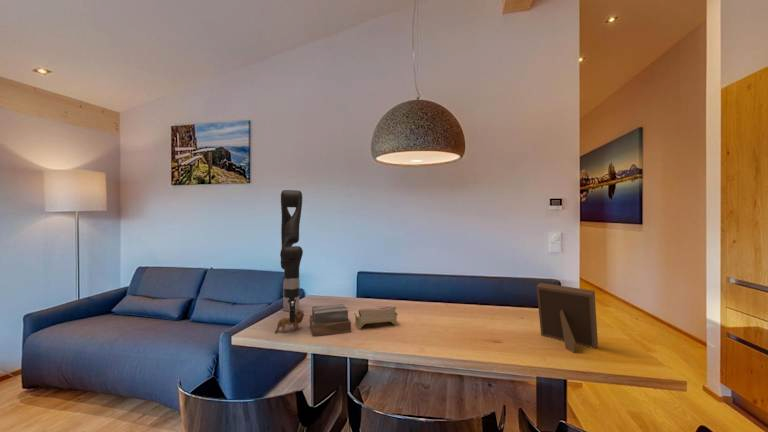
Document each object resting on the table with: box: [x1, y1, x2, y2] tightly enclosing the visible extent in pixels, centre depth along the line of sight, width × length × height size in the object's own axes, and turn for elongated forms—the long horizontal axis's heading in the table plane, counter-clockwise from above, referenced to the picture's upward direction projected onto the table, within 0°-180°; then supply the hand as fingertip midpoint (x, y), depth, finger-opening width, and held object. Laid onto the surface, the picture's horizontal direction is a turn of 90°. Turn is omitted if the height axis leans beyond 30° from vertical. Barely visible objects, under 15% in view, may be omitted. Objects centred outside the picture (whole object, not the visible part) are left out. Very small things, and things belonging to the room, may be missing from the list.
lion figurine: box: [274, 309, 305, 334], centre depth 158 cm, size 15×5×9 cm, turn 130°
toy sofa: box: [354, 305, 399, 330], centre depth 166 cm, size 21×9×10 cm, turn 107°
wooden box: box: [309, 303, 352, 337], centre depth 161 cm, size 16×18×10 cm
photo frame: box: [536, 282, 599, 353], centre depth 141 cm, size 15×22×25 cm
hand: (291, 319), depth 159 cm, fingers open, 8 cm apart
